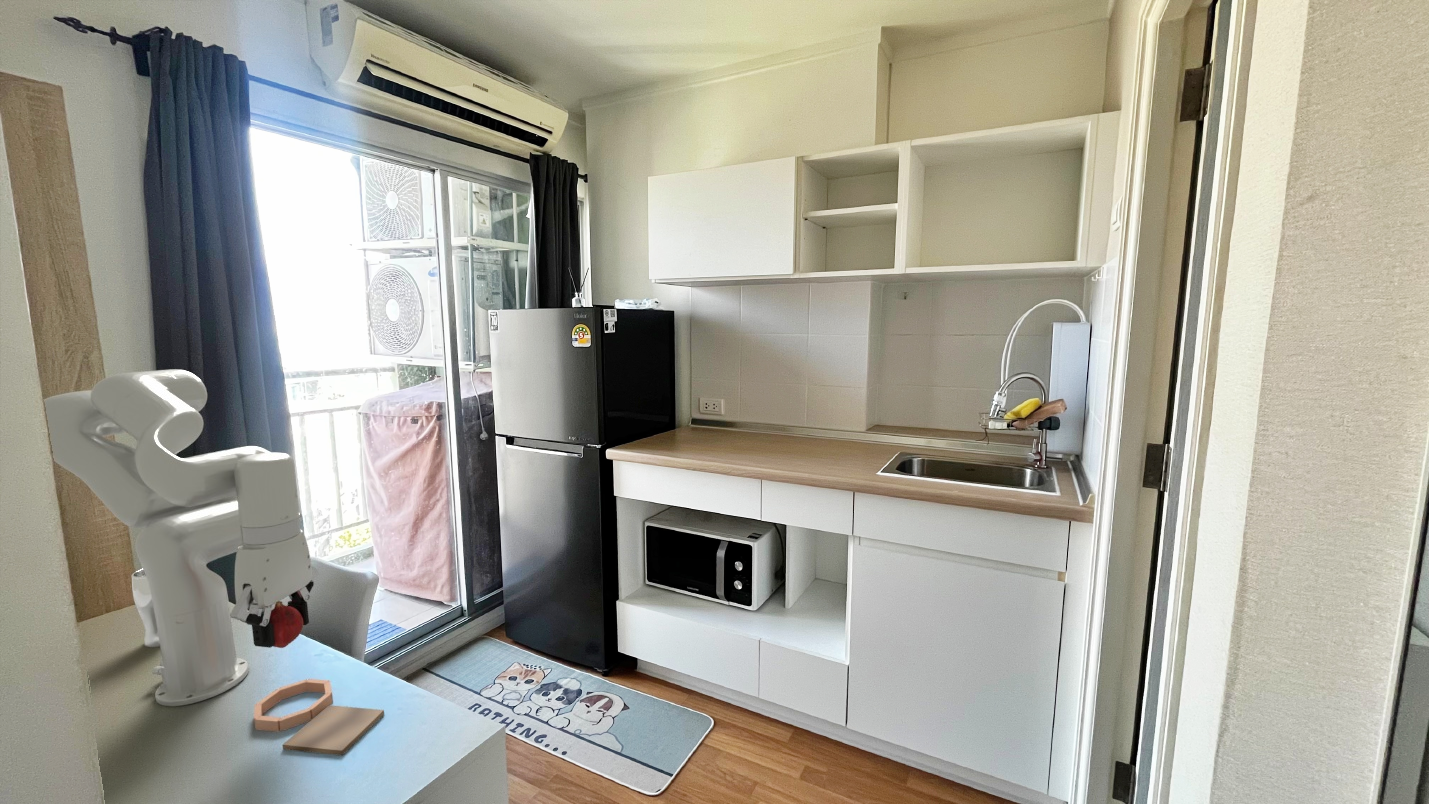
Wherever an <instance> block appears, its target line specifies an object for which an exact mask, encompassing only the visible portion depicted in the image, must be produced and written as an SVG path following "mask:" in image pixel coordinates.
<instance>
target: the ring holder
mask: <svg viewBox="0 0 1429 804" xmlns="http://www.w3.org/2000/svg"><path fill="white" fill-rule="evenodd" d="M306 691H309V693H320V694H321V693H323V695H322V696H321V697H320V698H318V699H317V700H316V701H315V702H314V703H312V704H311V705H310V706H308V707H307V708H304V709H302V710H299V711H296V712H293V713H290V714H287V715H284V716H279V717H278V716H268V715H264V714H265V713H266V712H267V711H268V710H270V709H271V708H273V707H274V706H276V704H278V703H279V702H280V701H282V700H285V699H289V698H291V697H294V696H298V695H300V693H301V694H303V692H304V693H307V692H306ZM297 694H298V695H297ZM333 698H334V697H333V691H332V685H331V681H330V680H327V679H316V678H308V679H307V678H306V679H303V680H299V681H297V682H293V683H289V684H287V685H284V686H281V687H278V688H277V689H275V690H274V691H272V692H271V693H269V694H267V695H266V696H265V697H264V698H262V699H261V700H259V701H258V702H257V703H256V704H255V705H254V706H253V707H254V712H253V723H254V728H255V730H257V731H266V732H277V733H278V732H283V731H286V730H288V729H292V728H293V727H297V726H300V725H303V724H307V723H309V722H310V721H311V720H312V719H313V718H315V717H316V716H317V715H318V714H319V713H321V712H322V711H323V710H324V709H325V708H327V707H328V706H329V705H333V703H334V699H333Z"/></svg>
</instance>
